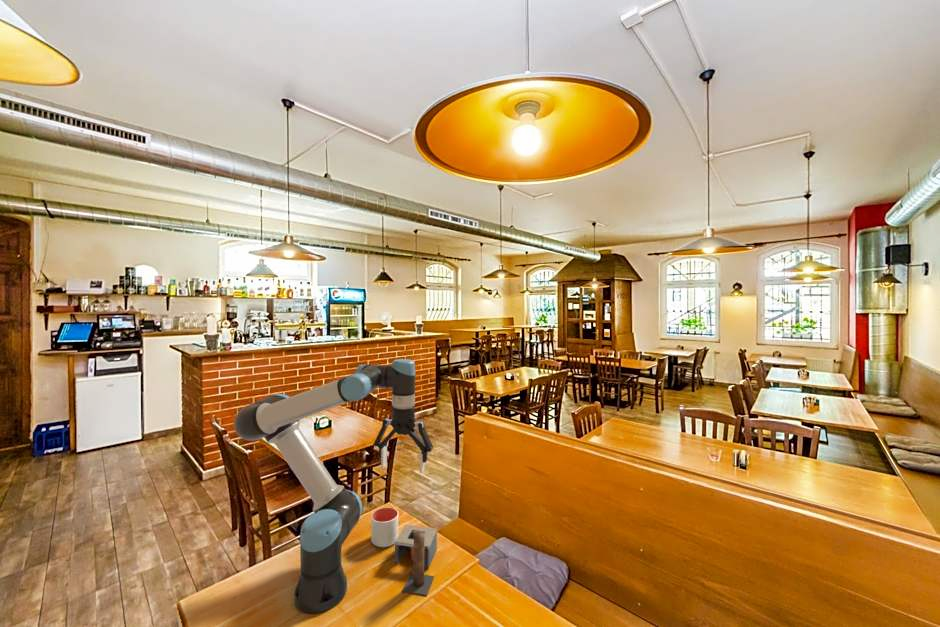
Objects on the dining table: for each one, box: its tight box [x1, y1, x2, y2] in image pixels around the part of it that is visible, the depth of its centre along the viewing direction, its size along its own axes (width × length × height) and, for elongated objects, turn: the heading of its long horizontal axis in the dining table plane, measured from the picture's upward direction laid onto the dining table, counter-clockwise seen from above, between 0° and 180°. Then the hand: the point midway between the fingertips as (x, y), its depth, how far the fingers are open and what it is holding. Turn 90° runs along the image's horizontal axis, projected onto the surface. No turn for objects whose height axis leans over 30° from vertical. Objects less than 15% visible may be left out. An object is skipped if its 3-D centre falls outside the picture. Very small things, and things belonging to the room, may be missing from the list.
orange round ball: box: [410, 547, 414, 562], centre depth 133 cm, size 4×4×4 cm
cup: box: [370, 506, 399, 548], centre depth 142 cm, size 10×10×10 cm
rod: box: [412, 531, 425, 587], centre depth 120 cm, size 3×3×16 cm
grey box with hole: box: [394, 524, 438, 570], centre depth 133 cm, size 12×10×8 cm
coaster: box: [401, 572, 435, 597], centre depth 121 cm, size 8×8×1 cm
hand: (402, 469), depth 126 cm, fingers open, 13 cm apart
